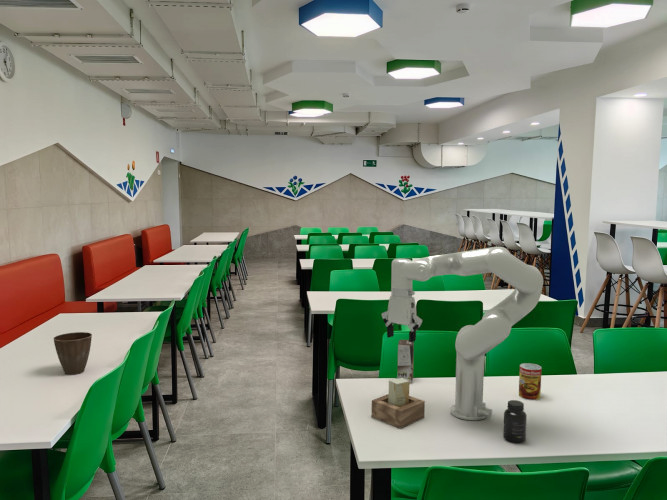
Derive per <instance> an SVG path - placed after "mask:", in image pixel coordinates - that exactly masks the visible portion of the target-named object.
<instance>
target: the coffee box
mask: <svg viewBox="0 0 667 500" xmlns="http://www.w3.org/2000/svg"><path fill="white" fill-rule="evenodd" d="M414 342H415V341H414ZM414 342H409V339H399V341H398V344H397V373H396V374H397V375H396V377H397V378H396V379H399V378H404V379H406V380H408V381H410V384H412V383H413V379H414V361H415V360H414V358H415V357H414V352H415V350H414V349H415V348H414V347H415V345H414V344H415V343H414Z"/></svg>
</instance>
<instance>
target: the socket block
mask: <svg viewBox="0 0 667 500" xmlns="http://www.w3.org/2000/svg"><path fill="white" fill-rule="evenodd" d="M388 394H389V393H387V394H385V395H381V396H380V397H377V398H374V399H371V418H373V419H376V420H378V421H381V422H383V423H385V424H388V425H390V426H392V427H396V428H397V429H400V430H401V429H403V428H405V427H408V426H410V425H411V424H414V423H416V422H419V421H420V420H422V419H425V411H426V410H425V404H426V401H425V400H423V399H419V398H417V397H414V396H411V395H409V404H407V405H405V406H402V407H397V406H395V405H392V404H389V403H388Z"/></svg>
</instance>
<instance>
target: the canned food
mask: <svg viewBox="0 0 667 500" xmlns="http://www.w3.org/2000/svg"><path fill="white" fill-rule="evenodd" d="M542 369H543V368H542V365H541V366H540V365H539V364H535V363H529V362H528V363H527V362H526V363H525V362H524V363H521V364H519V375H518V376H519V379H518V396H519V398H521V399H524V400H529V401H538V400H540V399H541V394H542V393H541V392H542V391H541V388H542V387H541V386H542Z"/></svg>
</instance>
